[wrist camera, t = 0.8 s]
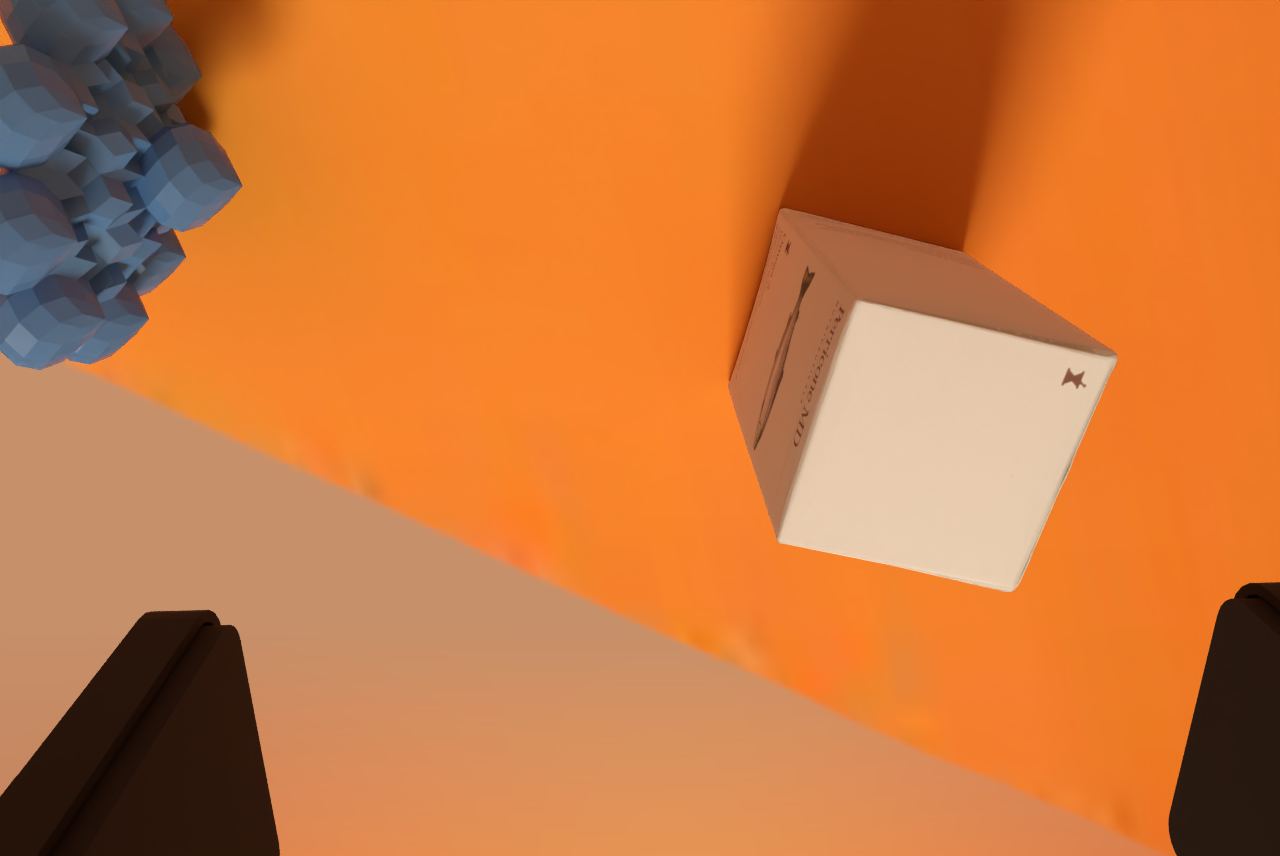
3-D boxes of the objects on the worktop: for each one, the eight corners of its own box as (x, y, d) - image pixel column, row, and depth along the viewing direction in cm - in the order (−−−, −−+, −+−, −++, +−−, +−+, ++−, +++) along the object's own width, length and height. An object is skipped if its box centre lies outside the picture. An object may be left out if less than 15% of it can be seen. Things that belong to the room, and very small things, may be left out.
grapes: (294, 321, 37) (162, 448, 26) (106, 295, 37) (-111, 414, 26) (304, -18, 33) (152, -38, 22) (91, -53, 33) (-176, -93, 21)
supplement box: (776, 201, 36) (858, 286, 25) (967, 250, 37) (1134, 354, 25) (720, 388, 39) (769, 546, 27) (899, 430, 40) (1023, 600, 28)
